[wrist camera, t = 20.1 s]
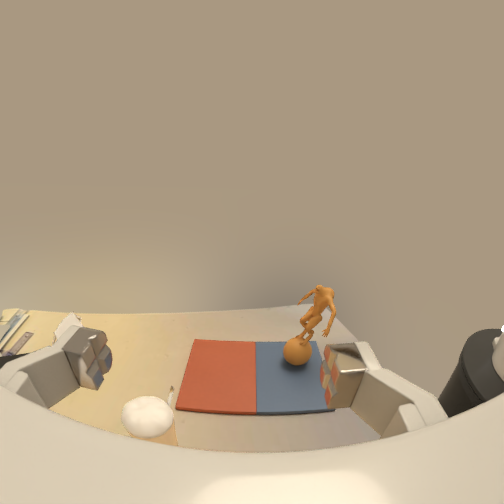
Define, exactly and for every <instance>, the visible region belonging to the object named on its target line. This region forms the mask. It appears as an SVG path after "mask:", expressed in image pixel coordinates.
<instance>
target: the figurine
mask: <svg viewBox="0 0 504 504" xmlns="http://www.w3.org/2000/svg"><path fill="white" fill-rule="evenodd" d="M313 293H316V294H315V296H314V307H313V306H312V307H311V308H310V309H309V311H308V312H307V313H306V314H305V315H304V316H303V317H302V318H301V319H300V323H301V324H302V326H303V327H304V328H305V330H304V331H303V332H302V333H301V334H300V335H298V336H296V337H295V338H292V339H290V340H289V341H288V342H287V343H286V344H285V346H284V349H283V355H284V358H285V359H286V361H287V362H288V363H290V364H292V365H302V364H304V363H306V362H307V361H308V360H309V359H310V357H311V355H312V347H311V345H310V343H309V342H308V341H309V340H310V339H311V337H312V336H313V334H314V331H313V330H311V329H312V328H314V327H315V326H316V325H317V324H318V323H319V322H320V321H321V320H322V316H321V313H322V312H323V311H324V309H325V308H326V307H327V306H328V305H329V307H330V309H331V311H332V314H331V317H330V320H329V322H328V326H327V329H325V330H323V331H325V332H324V334H325V336H326V335H328V334H329V331H330V327H331V325H332V323H333V320H334V318H335V315H336V309H335V306H334V304H333V298H334V291H333V290H332V289H331V288H326V287H322V286H321V285H317V286H316V289H313V290H311V291H310V292H309V293H308V294H306V295H305V296H304V297H303V298H302V299H301V300H300V302H299V303H298V305H300V303H301V302H302V301H303V300H304V299H306V298H308V297H309V296H310V295H312V294H313ZM306 321H309V322H308V323H305V322H306ZM323 331H322V332H323ZM307 332H308V334H309V336H308V337H307V338H306V339H304V338H303V336H304V335H305V334H306V333H307ZM324 334H323V335H324ZM323 335H322V336H323ZM325 336H324V337H325ZM326 337H327V336H326Z"/></svg>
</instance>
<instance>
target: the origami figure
mask: <svg viewBox="0 0 504 504" xmlns="http://www.w3.org/2000/svg"><path fill="white" fill-rule="evenodd" d="M78 319H79V320H78ZM72 325H75V326H80V327H83V325H82V324H81V317H79V316H77V315H75V314H74V312H71V313H70V314H69V315H68V316H67V317H66V318H64V319H63V320H62V321H61V323H60V324H59V326H58V327H57V329H56V331H55V332H54V338H53V341H52V345H53V344H54V343H55V340H56V338H57V340H58V338H59V337H60V336H61V335H62V334H63V333H64V332H65V331H66V330H67V329H68V328H69V327H70V326H72Z"/></svg>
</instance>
